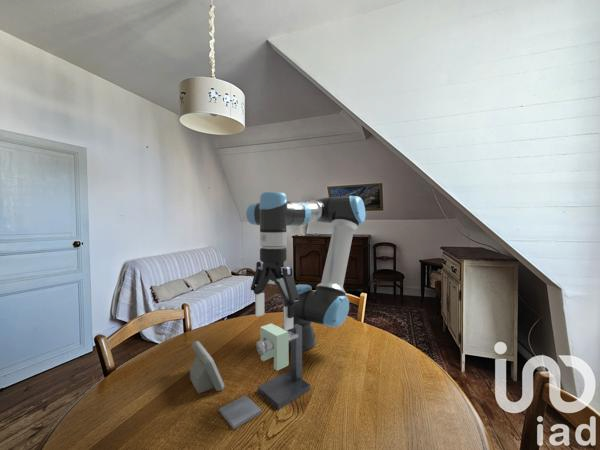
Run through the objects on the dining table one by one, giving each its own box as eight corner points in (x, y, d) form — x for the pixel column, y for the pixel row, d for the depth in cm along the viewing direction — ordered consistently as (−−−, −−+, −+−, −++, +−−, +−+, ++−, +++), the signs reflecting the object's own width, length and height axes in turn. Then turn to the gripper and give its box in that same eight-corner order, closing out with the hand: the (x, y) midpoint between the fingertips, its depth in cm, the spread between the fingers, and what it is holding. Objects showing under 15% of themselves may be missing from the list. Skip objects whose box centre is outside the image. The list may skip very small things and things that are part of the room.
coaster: (219, 411, 70) (219, 408, 70) (245, 397, 75) (245, 394, 75) (233, 429, 64) (233, 426, 64) (261, 413, 69) (261, 410, 69)
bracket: (260, 359, 77) (260, 327, 77) (271, 354, 80) (271, 323, 80) (277, 370, 71) (276, 336, 71) (288, 365, 74) (288, 331, 74)
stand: (250, 394, 76) (250, 333, 76) (289, 374, 86) (289, 320, 86) (271, 413, 69) (270, 345, 68) (310, 389, 79) (310, 329, 78)
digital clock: (225, 392, 77) (224, 357, 77) (192, 402, 74) (191, 364, 73) (217, 365, 92) (216, 335, 92) (189, 371, 88) (188, 340, 88)
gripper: (239, 244, 81) (239, 313, 82) (291, 252, 63) (291, 340, 63) (259, 243, 86) (260, 307, 87) (313, 249, 68) (313, 331, 68)
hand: (273, 321), depth 75 cm, fingers open, 13 cm apart
